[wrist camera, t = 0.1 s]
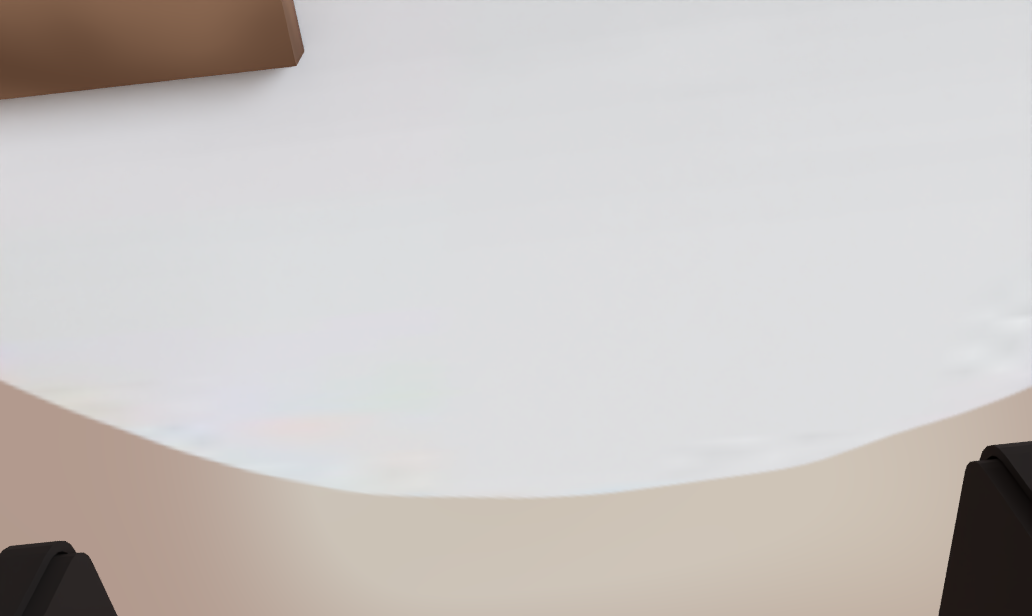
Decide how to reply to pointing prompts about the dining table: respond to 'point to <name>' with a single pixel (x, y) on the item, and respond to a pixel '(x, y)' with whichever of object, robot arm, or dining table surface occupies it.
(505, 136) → the dining table surface
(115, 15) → the walnut board
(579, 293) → the dining table surface
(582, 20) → the dining table surface
